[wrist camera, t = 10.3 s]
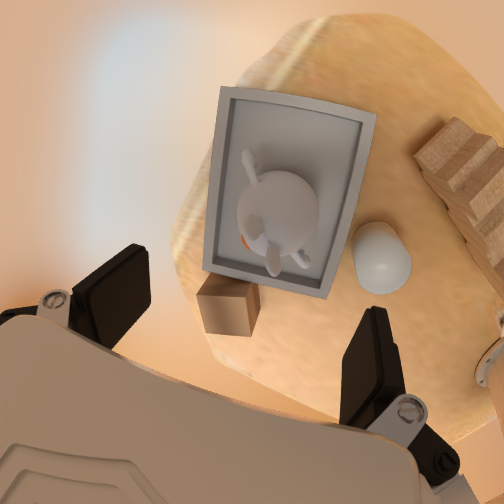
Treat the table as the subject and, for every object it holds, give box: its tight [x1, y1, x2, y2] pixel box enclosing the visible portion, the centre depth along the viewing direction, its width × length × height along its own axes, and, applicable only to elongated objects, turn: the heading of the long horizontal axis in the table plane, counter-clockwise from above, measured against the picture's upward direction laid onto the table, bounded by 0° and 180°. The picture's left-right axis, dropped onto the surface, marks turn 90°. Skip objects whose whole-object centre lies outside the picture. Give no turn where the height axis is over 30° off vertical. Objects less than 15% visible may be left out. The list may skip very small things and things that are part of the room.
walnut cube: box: [196, 272, 260, 337], centre depth 30 cm, size 5×5×5 cm
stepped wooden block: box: [413, 117, 504, 300], centre depth 17 cm, size 6×17×10 cm, turn 49°
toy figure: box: [235, 149, 319, 277], centre depth 20 cm, size 11×6×12 cm, turn 30°
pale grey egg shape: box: [351, 221, 412, 295], centre depth 24 cm, size 5×5×5 cm
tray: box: [202, 86, 377, 300], centre depth 25 cm, size 13×18×2 cm
